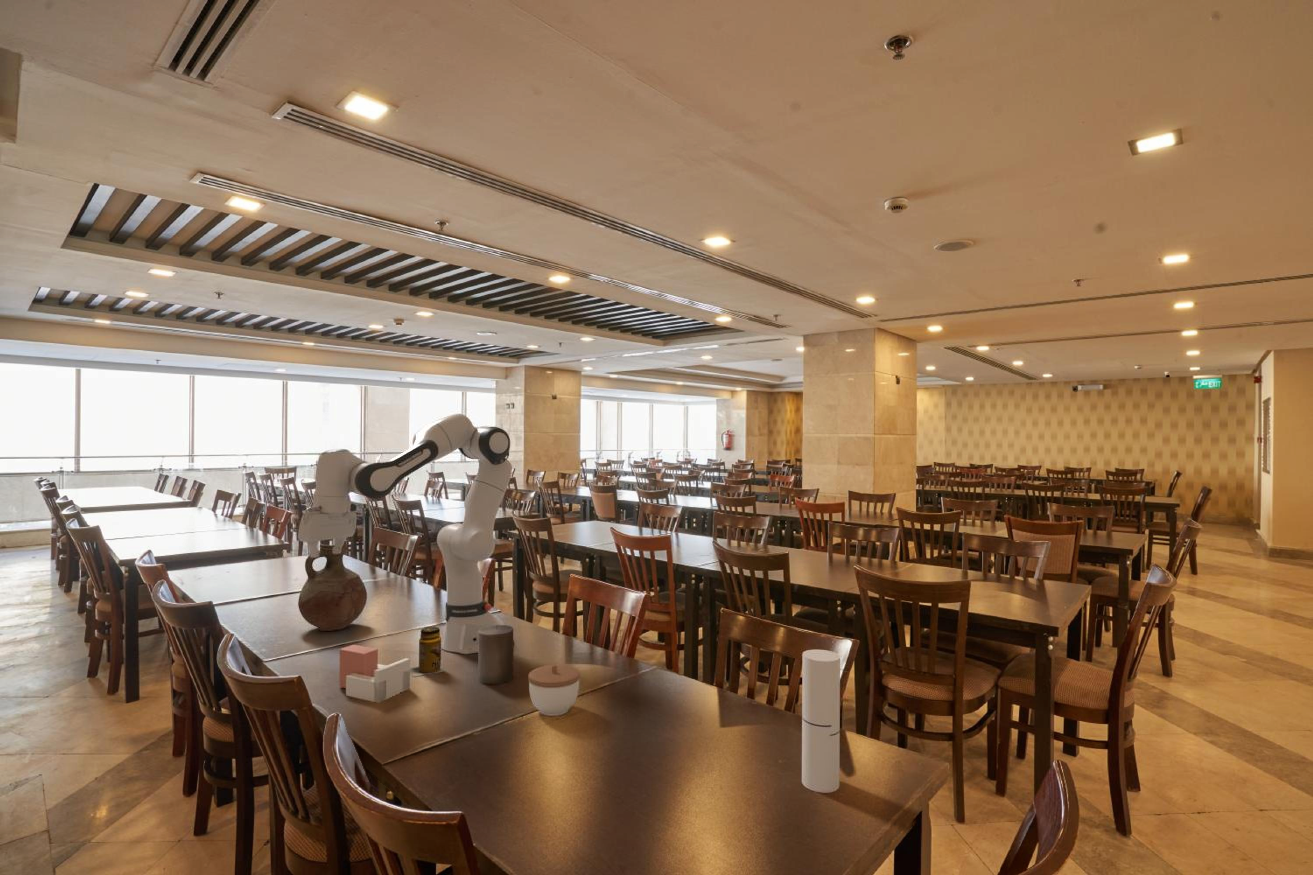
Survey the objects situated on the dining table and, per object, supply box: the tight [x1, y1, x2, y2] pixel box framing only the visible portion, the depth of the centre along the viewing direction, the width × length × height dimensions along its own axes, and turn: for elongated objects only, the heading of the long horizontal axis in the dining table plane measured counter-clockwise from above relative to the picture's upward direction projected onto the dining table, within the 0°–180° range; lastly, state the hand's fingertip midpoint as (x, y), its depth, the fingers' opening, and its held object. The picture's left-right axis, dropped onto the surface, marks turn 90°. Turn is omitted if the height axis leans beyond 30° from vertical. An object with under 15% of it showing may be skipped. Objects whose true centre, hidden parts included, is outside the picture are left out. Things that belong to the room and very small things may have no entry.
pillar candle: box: [477, 624, 514, 685], centre depth 185 cm, size 10×10×15 cm
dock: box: [345, 657, 411, 704], centre depth 174 cm, size 12×10×8 cm
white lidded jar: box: [527, 664, 581, 717], centre depth 163 cm, size 13×13×11 cm
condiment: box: [410, 626, 445, 677], centre depth 191 cm, size 7×8×12 cm
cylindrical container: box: [801, 649, 841, 794], centre depth 129 cm, size 7×7×25 cm
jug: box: [297, 543, 368, 632], centre depth 232 cm, size 22×22×30 cm
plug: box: [338, 644, 379, 689], centre depth 177 cm, size 9×4×10 cm, turn 65°
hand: (325, 555), depth 186 cm, fingers open, 8 cm apart
